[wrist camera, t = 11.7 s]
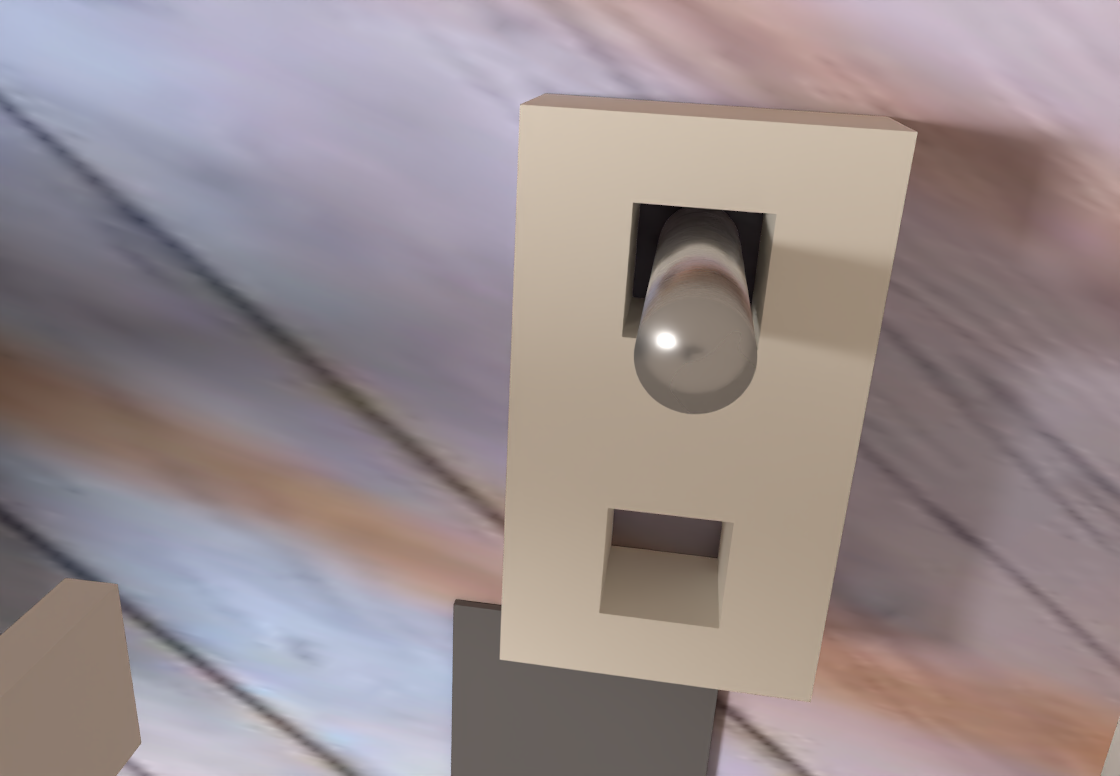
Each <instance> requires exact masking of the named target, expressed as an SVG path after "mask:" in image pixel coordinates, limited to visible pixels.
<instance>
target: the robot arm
mask: <svg viewBox="0 0 1120 776" xmlns="http://www.w3.org/2000/svg"><path fill="white" fill-rule="evenodd" d="M140 744H141V737H140V731H139V724H138V717H137V711H136V704H135V697H134V691H133V684H132V677H131V671H130V664H129V657H128V651H127V644H126V637H125V631H124V624H123V617H122V611H121V604H120V597H119V591H118V584H112V583H104V582H95V581H86V580H78V579H69V578H65V579H64V580H63V581H61V582H60V583H59V584H58V585H57V586H56V587H55V588H54V589H52V590H51V591H50V592H49V593H48V594H47V595H46V596H45V597H43V598H42V599H41V600H40V601H39V602H38V603H37V604H35V605H34V606H33V607H32V608H31V609H30V610H29V611H28V612H26V613H25V614H24V615H23V616H22V617H21V618H20V619H19V620H17V621H16V622H15V623H14V624H13V625H12V626H11V627H9V628H8V629H7V630H6V631H5V632H4V633H3V634H2V635H0V776H116V775H117V774H118V773H119V772H120V770H121V769H122V768H123V766H124V765H125V764H126V762H127V761H128V760H129V759H130V757H131V756H132V755H133V753H134V752H135V751H136V749H137V748H138V747H139V745H140ZM1101 776H1120V717H1119V720H1118V723H1117V726H1116V729H1115V733H1114V736H1113V739H1112V742H1111V745H1110V748H1109V751H1108V754H1107V757H1106V760H1105V763H1104V766H1103V769H1102V772H1101Z"/></svg>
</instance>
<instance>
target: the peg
mask: <svg viewBox="0 0 1120 776" xmlns="http://www.w3.org/2000/svg"><path fill="white" fill-rule="evenodd" d="M634 365H635V370H636V374H637V376H638V378H639V381H640V383H641V384H642V386H643V388H644V389H645V390H646V391H647V393H648V394H649V395H650V396H651V397H652V398H653V399H654V400H656V401H657V402H658V403H660V404H661V405H663V406H665V407H667V408H669V409H671V410H674V411H677V412H680V413H686V414H705V413H710V412H714V411H717V410H720V409H722V408H724V407H726V406H728V405H730V404H731V403H733V402H734V401H735V400H737V399H738V398H739V397H740V396H741V395H742V394H743V393H744V392H745V390H746V389H747V388H748V386H749V384H750V383H751V381H752V379H753V376H754V373H755V370H756V366H757V346H756V340H755V333H754V327H753V321H752V314H751V308H750V301H749V295H748V288H747V282H746V275H745V269H744V262H743V256H742V249H741V243H740V237H739V232H738V229H737V227H736V225H735V223H734V221H733V220H732V219H731V218H730V216H729V215H728V214H726V213H725V212H724V211H722V210H719V209H707V208H694V207H683V208H681V209H679V210H678V211H676V212H675V213H673V214H672V215H671V216H670V217H669V218H668V220H667V221H666V222H665V224H664V226H663V228H662V230H661V233H660V236H659V241H658V245H657V250H656V254H655V258H654V263H653V267H652V272H651V276H650V281H649V285H648V289H647V294H646V298H645V303H644V307H643V312H642V316H641V320H640V325H639V329H638V334H637V338H636V343H635V348H634Z"/></svg>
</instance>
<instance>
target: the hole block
mask: <svg viewBox="0 0 1120 776" xmlns="http://www.w3.org/2000/svg"><path fill="white" fill-rule="evenodd" d="M917 133H918V132H917V131H915V130H913V129H911V128H909V127H907V126H905V125H903V124H901V123H899V122H897V121H895V120H893V119H891V118H889V117H886V116H871V115H856V114H842V113H827V112H812V111H797V110H782V109H768V108H753V107H738V106H723V105H709V104H694V103H679V102H664V101H649V100H635V99H620V98H605V97H590V96H576V95H561V94H546V93H545V94H543V95H541V96H538V97H536V98H534V99H531V100H529V101H527V102H525V103H522V104H520V120H519V147H518V174H517V201H516V228H515V255H514V283H513V310H512V337H511V364H510V391H509V418H508V445H507V473H506V500H505V527H504V554H503V581H502V608H501V635H500V660H506V661H514V662H521V663H528V664H536V665H543V666H550V667H558V668H565V669H572V670H579V671H587V672H594V673H601V674H609V675H616V676H623V677H631V678H638V679H645V680H652V681H660V682H667V683H674V684H682V685H689V686H696V687H704V688H711V689H718V690H726V691H733V692H740V693H747V694H755V695H762V696H769V697H777V698H784V699H791V700H799V701H806V702H811V697H812V691H813V686H814V681H815V675H816V670H817V665H818V659H819V654H820V649H821V643H822V638H823V633H824V628H825V622H826V617H827V612H828V606H829V601H830V596H831V590H832V585H833V580H834V574H835V569H836V564H837V558H838V553H839V548H840V542H841V537H842V532H843V526H844V521H845V516H846V511H847V505H848V500H849V495H850V489H851V484H852V479H853V473H854V468H855V463H856V457H857V452H858V447H859V441H860V436H861V431H862V425H863V420H864V415H865V409H866V404H867V399H868V394H869V388H870V383H871V378H872V372H873V367H874V362H875V356H876V351H877V346H878V340H879V335H880V330H881V324H882V319H883V314H884V308H885V303H886V298H887V292H888V287H889V282H890V277H891V271H892V266H893V261H894V255H895V250H896V245H897V239H898V234H899V229H900V223H901V218H902V213H903V207H904V202H905V197H906V191H907V186H908V181H909V175H910V170H911V165H912V159H913V154H914V149H915V144H916V138H917ZM640 203H644V204H657V205H669V206H682V207H694V208H707V209H719V210H732V211H744V212H757V213H764V214H763V222H762V229H761V237H760V244H759V252H758V259H757V267H756V274H755V282H754V289H753V297H752V304H751V314H752V321H753V327H754V333H755V340H756V346H757V366H756V370H755V373H754V376H753V379H752V381H751V383H750V384H749V386H748V388H747V389H746V390H745V392H744V393H743V394H742V395H741V396H740V397H739V398H738V399H737V400H735V401H734V402H733V403H731V404H730V405H728V406H726V407H724V408H722V409H720V410H717V411H714V412H710V413H705V414H686V413H680V412H677V411H674V410H671V409H669V408H667V407H665V406H663V405H661V404H660V403H658V402H657V401H656V400H654V399H653V398H652V397H651V396H650V395H649V394H648V393H647V391H646V390H645V389H644V388H643V386H642V384H641V383H640V381H639V378H638V376H637V374H636V370H635V365H634V348H635V343H636V338H637V334H638V329H639V325H640V320H641V316H642V312H643V307H644V303H645V298H638V297H633V285H634V273H635V262H636V250H637V238H638V226H639V215H640ZM614 509H620V510H629V511H637V512H646V513H654V514H663V515H671V516H680V517H689V518H697V519H706V520H714V521H722V528H721V536H720V543H719V551H718V558H711V557H703V556H695V555H687V554H678V553H670V552H662V551H654V550H645V549H637V548H629V547H621V546H612V545H611V543H612V532H613V520H614Z"/></svg>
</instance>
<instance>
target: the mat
mask: <svg viewBox="0 0 1120 776" xmlns="http://www.w3.org/2000/svg"><path fill="white" fill-rule="evenodd" d="M501 608H502V606H501V605H494V604H486V603H478V602H471V601H463V600H455V603H454V613H453V682H452V750H451V776H706V771H707V764H708V757H709V750H710V743H711V736H712V729H713V722H714V715H715V708H716V701H717V694H718V689H711V688H704V687H696V686H689V685H682V684H674V683H667V682H660V681H652V680H645V679H638V678H631V677H623V676H616V675H609V674H601V673H594V672H587V671H579V670H572V669H565V668H558V667H550V666H543V665H536V664H528V663H521V662H514V661H506V660H500V635H501Z"/></svg>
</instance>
